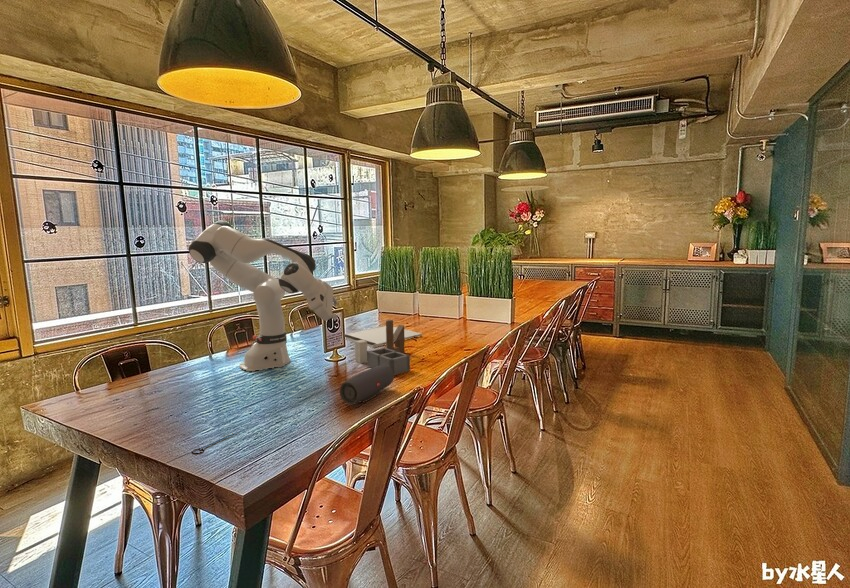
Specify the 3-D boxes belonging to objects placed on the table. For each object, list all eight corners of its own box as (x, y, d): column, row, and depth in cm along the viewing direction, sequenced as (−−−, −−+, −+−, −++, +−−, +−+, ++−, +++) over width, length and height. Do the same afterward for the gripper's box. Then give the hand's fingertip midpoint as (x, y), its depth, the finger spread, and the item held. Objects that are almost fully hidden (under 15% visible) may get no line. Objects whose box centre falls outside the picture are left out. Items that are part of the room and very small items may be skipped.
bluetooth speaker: (359, 410, 157) (358, 382, 155) (338, 405, 161) (337, 378, 160) (395, 389, 176) (395, 365, 175) (376, 385, 181) (375, 361, 179)
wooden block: (404, 352, 228) (404, 317, 225) (390, 357, 220) (389, 321, 217) (399, 351, 230) (398, 316, 228) (384, 356, 222) (383, 320, 219)
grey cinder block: (391, 376, 193) (391, 360, 192) (367, 366, 206) (366, 351, 205) (409, 370, 199) (409, 355, 198) (385, 361, 213) (384, 347, 212)
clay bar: (360, 363, 211) (359, 342, 209) (355, 361, 214) (355, 341, 212) (367, 361, 213) (366, 341, 212) (362, 360, 216) (362, 339, 215)
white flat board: (372, 344, 238) (340, 334, 260) (372, 349, 238) (340, 338, 261) (421, 333, 261) (388, 325, 284) (421, 337, 261) (388, 329, 284)
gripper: (312, 280, 202) (331, 299, 210) (308, 310, 187) (330, 330, 195) (323, 273, 201) (342, 293, 209) (320, 303, 185) (341, 323, 193)
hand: (336, 311), depth 202 cm, fingers open, 8 cm apart
